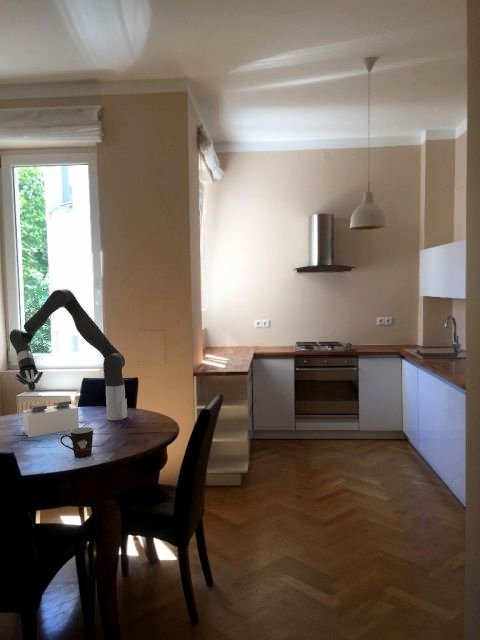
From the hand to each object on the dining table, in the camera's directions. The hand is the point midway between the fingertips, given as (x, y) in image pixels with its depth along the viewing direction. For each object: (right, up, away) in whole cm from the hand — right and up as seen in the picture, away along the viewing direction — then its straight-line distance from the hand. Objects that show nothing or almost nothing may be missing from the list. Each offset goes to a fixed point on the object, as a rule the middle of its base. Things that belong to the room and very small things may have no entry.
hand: (32, 389), depth 227 cm
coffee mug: (+36, -20, -41) cm, 58 cm away
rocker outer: (+6, -7, -7) cm, 12 cm away
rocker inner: (+15, -6, -1) cm, 16 cm away
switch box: (+11, -18, -4) cm, 22 cm away
